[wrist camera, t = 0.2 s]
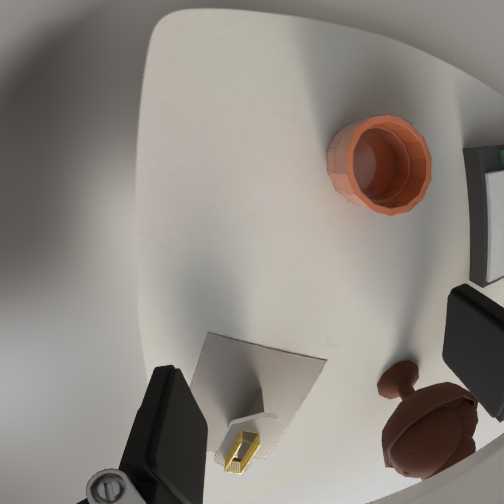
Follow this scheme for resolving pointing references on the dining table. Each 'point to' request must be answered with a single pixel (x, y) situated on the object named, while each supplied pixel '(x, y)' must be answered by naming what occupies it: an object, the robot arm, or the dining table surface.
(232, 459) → the platform
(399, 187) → the dip bowl
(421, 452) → the ice cream bowl
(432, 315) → the dining table surface
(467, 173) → the scale
